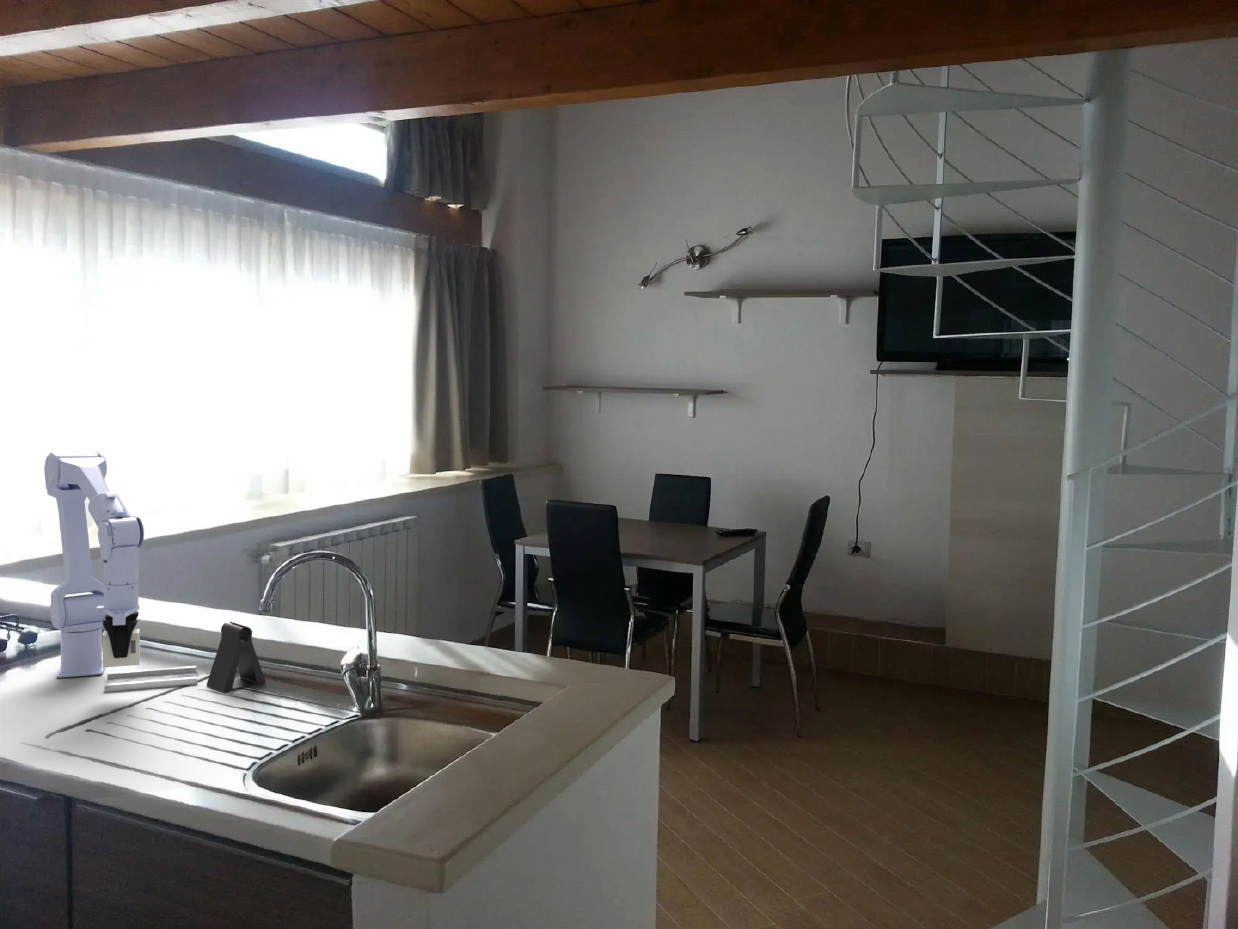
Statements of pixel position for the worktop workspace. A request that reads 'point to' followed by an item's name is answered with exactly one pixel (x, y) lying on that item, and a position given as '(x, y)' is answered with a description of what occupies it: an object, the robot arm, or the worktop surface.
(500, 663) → the worktop surface
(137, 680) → the rail
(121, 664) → the door panel
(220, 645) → the dark grey hinged stand
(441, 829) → the worktop surface
